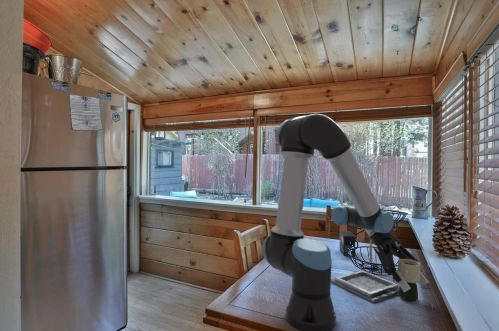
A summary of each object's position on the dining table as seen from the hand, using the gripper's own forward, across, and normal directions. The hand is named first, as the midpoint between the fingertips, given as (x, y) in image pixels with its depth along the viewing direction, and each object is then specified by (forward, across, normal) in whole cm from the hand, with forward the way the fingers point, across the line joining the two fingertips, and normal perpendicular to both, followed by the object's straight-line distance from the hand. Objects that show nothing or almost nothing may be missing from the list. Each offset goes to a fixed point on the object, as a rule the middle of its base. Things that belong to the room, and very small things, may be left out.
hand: (416, 287), depth 103 cm
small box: (-31, -22, -39) cm, 55 cm away
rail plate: (-8, +5, -16) cm, 18 cm away
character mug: (+2, 0, -6) cm, 6 cm away
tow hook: (-19, -16, -26) cm, 36 cm away
